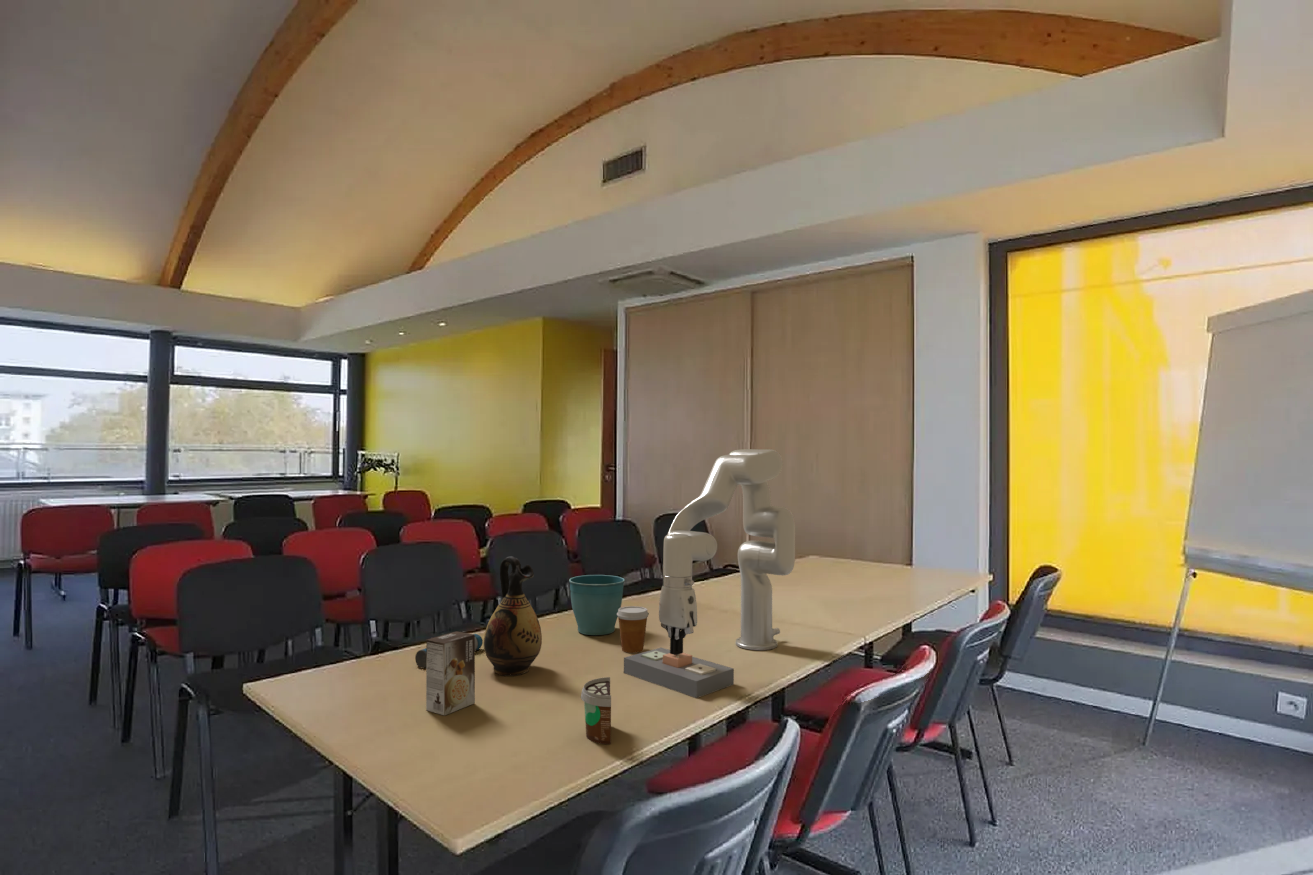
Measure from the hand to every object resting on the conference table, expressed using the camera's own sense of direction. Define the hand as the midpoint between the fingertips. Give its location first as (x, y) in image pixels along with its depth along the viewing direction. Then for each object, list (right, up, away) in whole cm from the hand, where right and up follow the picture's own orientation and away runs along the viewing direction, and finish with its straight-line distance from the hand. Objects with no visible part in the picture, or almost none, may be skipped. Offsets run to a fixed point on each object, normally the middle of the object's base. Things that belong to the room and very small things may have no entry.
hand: (676, 653), depth 178 cm
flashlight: (-63, -7, +18) cm, 66 cm away
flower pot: (-25, -8, +47) cm, 54 cm away
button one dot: (+6, -5, -6) cm, 10 cm away
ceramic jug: (-44, -7, +7) cm, 45 cm away
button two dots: (-5, -6, +6) cm, 10 cm away
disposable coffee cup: (-12, -7, +26) cm, 29 cm away
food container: (-18, -6, -36) cm, 40 cm away
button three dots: (0, -4, 0) cm, 4 cm away
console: (0, -7, 0) cm, 7 cm away
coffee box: (-52, -6, -20) cm, 57 cm away
